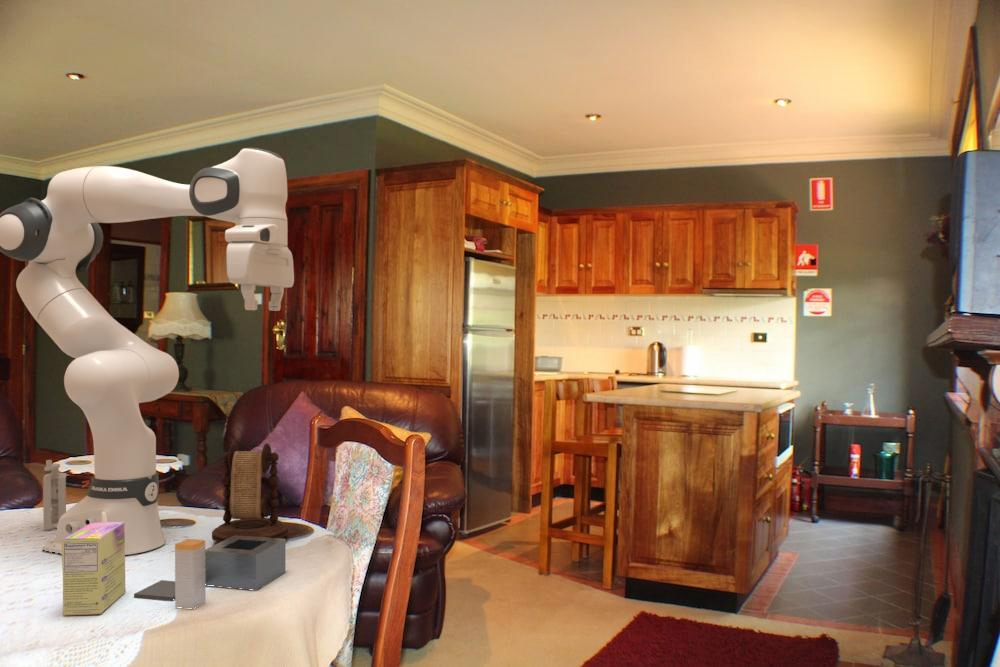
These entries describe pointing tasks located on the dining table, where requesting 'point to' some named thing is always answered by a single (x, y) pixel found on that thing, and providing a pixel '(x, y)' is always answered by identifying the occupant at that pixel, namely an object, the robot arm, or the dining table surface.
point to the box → (93, 568)
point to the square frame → (244, 562)
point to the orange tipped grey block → (190, 573)
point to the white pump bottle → (53, 495)
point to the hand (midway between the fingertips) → (263, 310)
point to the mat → (158, 591)
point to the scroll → (249, 495)
